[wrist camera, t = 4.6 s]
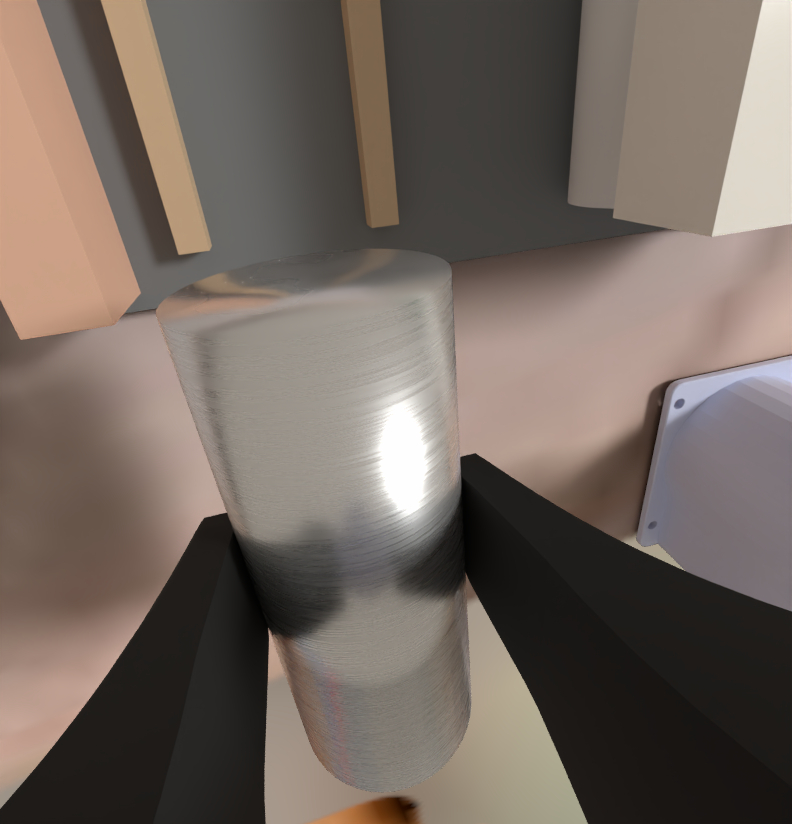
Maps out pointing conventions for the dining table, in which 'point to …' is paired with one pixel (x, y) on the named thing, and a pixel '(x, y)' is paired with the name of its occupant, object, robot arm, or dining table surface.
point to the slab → (708, 117)
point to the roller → (342, 490)
